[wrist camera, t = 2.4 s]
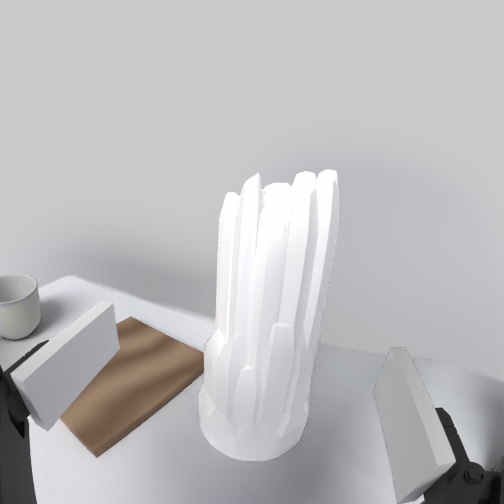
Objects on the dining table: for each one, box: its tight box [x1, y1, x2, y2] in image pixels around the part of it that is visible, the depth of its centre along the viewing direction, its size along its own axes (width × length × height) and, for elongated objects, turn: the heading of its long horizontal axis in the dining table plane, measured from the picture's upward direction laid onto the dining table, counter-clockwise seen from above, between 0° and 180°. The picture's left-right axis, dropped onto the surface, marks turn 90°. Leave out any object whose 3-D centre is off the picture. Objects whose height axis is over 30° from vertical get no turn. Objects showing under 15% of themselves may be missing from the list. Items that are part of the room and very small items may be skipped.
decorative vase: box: [198, 169, 339, 461], centre depth 23 cm, size 11×11×25 cm
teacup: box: [0, 273, 41, 340], centre depth 31 cm, size 14×11×8 cm
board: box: [60, 317, 204, 457], centre depth 30 cm, size 16×20×1 cm
